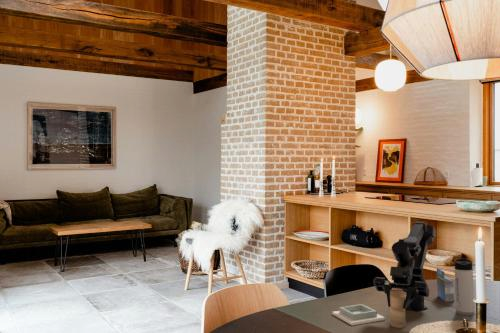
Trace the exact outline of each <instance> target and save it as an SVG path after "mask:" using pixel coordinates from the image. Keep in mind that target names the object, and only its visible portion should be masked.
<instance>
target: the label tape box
mask: <svg viewBox="0 0 500 333" xmlns="http://www.w3.org/2000/svg"><path fill="white" fill-rule="evenodd" d="M436 284H437V285H436V286H437V287H436V288H437V297H439V298H440V299H441V300H443V301H444V302H447V303H448V302H452V303H453V302H455V292H454V291H455V290H454V281H453V280H451V279H450V278H448V277H446V276H445V271H443V270H442V269H440V268H438V267H436Z"/></svg>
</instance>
